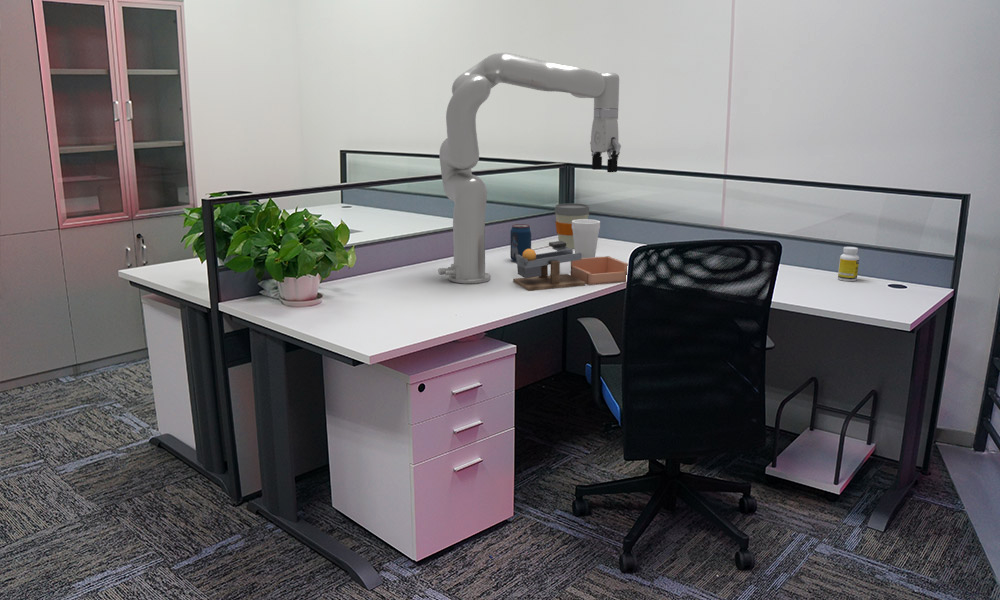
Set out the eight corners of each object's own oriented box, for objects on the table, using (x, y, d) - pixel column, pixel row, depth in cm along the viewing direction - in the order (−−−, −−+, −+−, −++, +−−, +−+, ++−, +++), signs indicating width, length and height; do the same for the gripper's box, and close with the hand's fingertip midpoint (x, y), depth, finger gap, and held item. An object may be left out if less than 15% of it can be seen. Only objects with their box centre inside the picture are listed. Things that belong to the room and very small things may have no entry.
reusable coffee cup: (579, 251, 294) (580, 209, 290) (548, 247, 300) (548, 206, 297) (594, 245, 304) (595, 204, 301) (563, 242, 311) (564, 202, 307)
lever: (526, 278, 238) (524, 258, 237) (506, 268, 252) (505, 249, 251) (583, 269, 244) (582, 249, 243) (561, 259, 258) (560, 240, 257)
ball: (527, 265, 239) (523, 253, 238) (522, 263, 243) (518, 250, 241) (539, 260, 240) (536, 247, 239) (534, 257, 244) (530, 245, 242)
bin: (588, 285, 243) (588, 266, 242) (570, 276, 254) (570, 259, 253) (627, 281, 248) (627, 263, 246) (608, 273, 259) (608, 256, 257)
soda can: (532, 259, 280) (532, 224, 277) (529, 263, 274) (530, 227, 271) (511, 258, 281) (511, 223, 278) (509, 262, 275) (509, 226, 272)
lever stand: (528, 290, 237) (528, 265, 235) (513, 281, 247) (513, 257, 246) (585, 285, 243) (585, 260, 241) (567, 277, 254) (568, 253, 252)
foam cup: (600, 262, 275) (601, 223, 272) (572, 262, 275) (572, 223, 272) (597, 256, 284) (598, 219, 281) (570, 256, 284) (571, 219, 281)
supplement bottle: (857, 282, 246) (861, 249, 244) (838, 281, 248) (841, 248, 246) (856, 278, 251) (859, 246, 249) (837, 277, 253) (840, 245, 250)
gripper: (582, 114, 261) (580, 168, 265) (609, 115, 245) (607, 173, 250) (602, 113, 264) (601, 167, 268) (631, 115, 248) (629, 172, 252)
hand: (604, 170), depth 259 cm, fingers open, 9 cm apart
